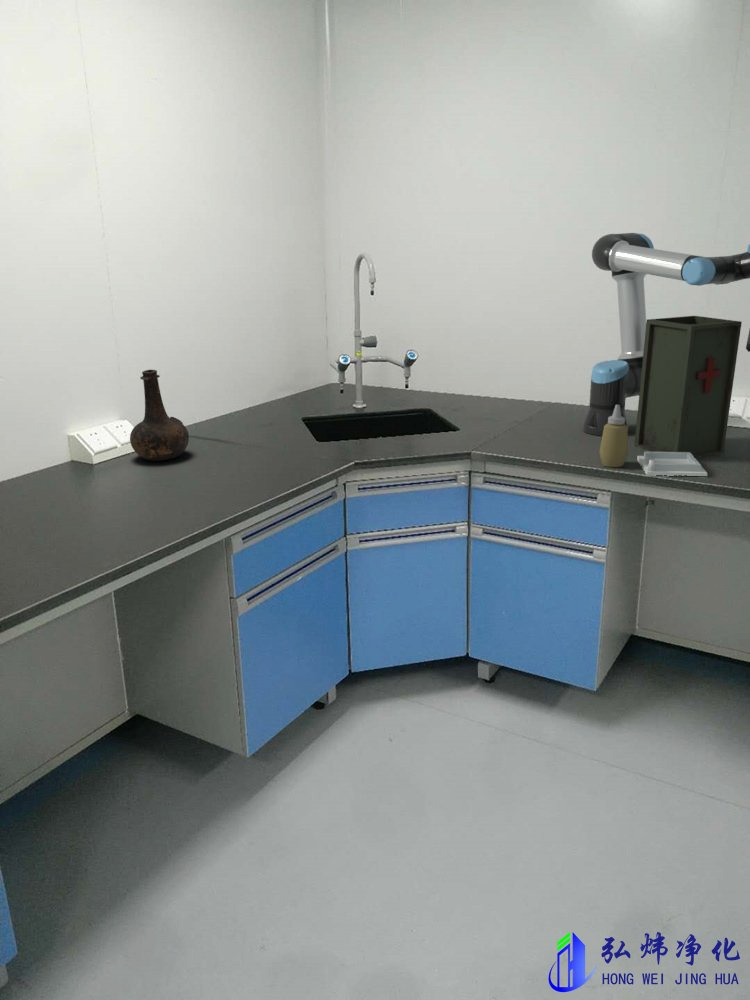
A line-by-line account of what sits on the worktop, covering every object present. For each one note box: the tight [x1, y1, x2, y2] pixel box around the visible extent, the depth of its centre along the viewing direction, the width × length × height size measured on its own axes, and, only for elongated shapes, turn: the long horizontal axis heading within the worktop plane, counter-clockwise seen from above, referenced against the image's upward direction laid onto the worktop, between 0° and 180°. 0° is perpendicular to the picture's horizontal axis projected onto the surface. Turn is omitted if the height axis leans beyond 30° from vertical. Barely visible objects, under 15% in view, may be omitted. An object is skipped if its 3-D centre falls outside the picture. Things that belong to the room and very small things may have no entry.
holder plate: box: [636, 451, 708, 477], centre depth 218 cm, size 16×16×4 cm
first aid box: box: [634, 315, 742, 458], centre depth 230 cm, size 18×18×40 cm
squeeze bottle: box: [598, 405, 629, 468], centre depth 220 cm, size 8×8×18 cm
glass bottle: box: [129, 369, 190, 462], centre depth 237 cm, size 18×18×28 cm
